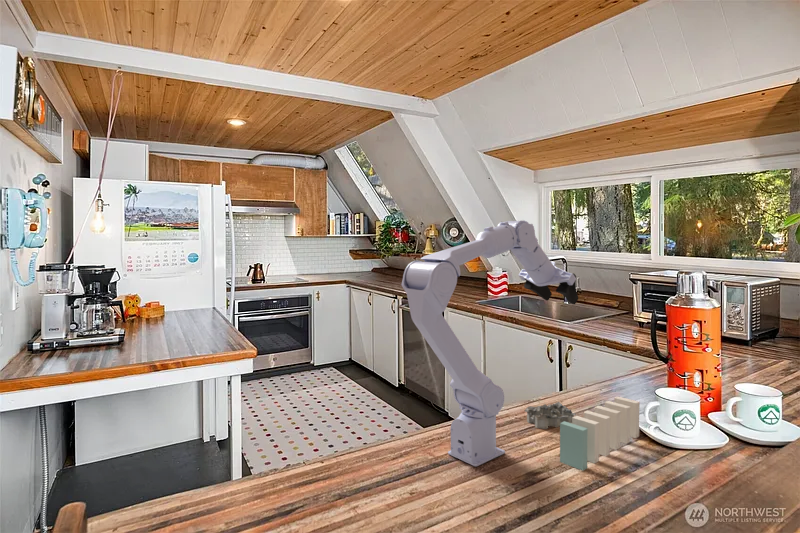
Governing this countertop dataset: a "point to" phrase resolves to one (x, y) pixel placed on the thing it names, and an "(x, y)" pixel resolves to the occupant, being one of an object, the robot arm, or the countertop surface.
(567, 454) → the domino
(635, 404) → the domino
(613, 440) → the domino
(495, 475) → the countertop surface
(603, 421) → the domino
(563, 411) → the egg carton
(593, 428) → the domino
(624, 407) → the domino
